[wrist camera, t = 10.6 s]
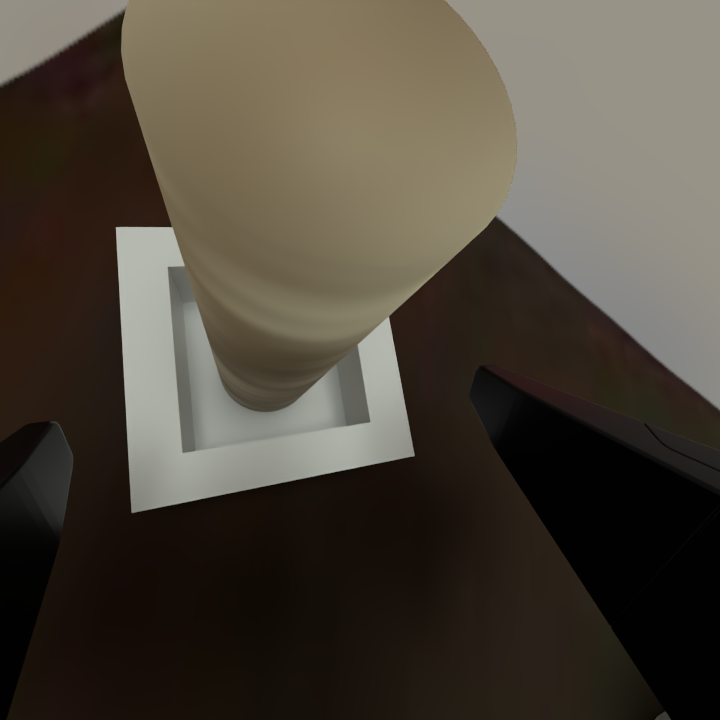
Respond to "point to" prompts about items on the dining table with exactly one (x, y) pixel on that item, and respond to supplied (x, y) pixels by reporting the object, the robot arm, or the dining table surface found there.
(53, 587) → the dining table surface
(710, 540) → the robot arm
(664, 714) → the house plant
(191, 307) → the end cap
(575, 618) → the dining table surface
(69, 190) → the dining table surface
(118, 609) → the dining table surface
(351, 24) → the dowel
